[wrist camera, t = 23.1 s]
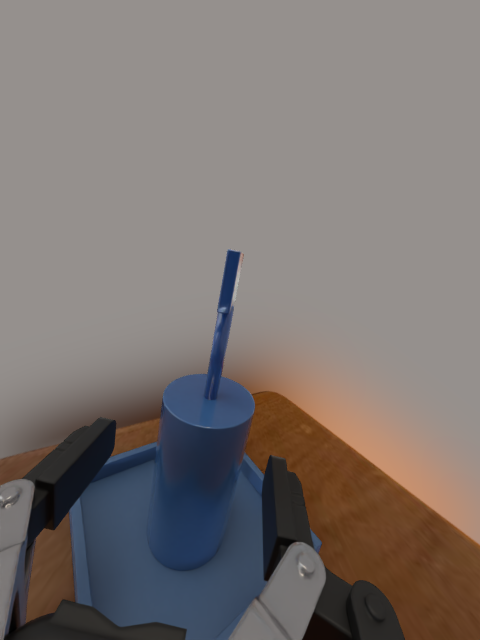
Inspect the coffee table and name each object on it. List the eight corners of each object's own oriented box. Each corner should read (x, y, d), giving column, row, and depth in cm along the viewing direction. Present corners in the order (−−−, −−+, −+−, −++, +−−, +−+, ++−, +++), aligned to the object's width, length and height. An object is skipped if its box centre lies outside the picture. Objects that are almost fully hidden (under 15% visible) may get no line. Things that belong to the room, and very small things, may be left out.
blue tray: (90, 822, 8) (92, 796, 8) (67, 490, 19) (67, 470, 18) (315, 562, 17) (322, 542, 17) (215, 435, 28) (217, 420, 27)
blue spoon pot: (219, 581, 15) (297, 260, 10) (129, 559, 15) (164, 234, 10) (230, 492, 21) (283, 262, 16) (165, 478, 21) (198, 245, 16)
